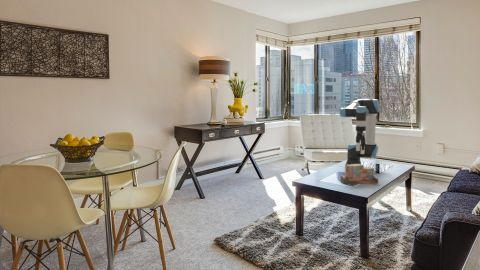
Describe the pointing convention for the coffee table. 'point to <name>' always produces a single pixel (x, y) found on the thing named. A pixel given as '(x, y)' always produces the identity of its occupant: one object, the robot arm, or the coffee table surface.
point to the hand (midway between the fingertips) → (360, 152)
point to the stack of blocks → (359, 172)
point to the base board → (360, 181)
